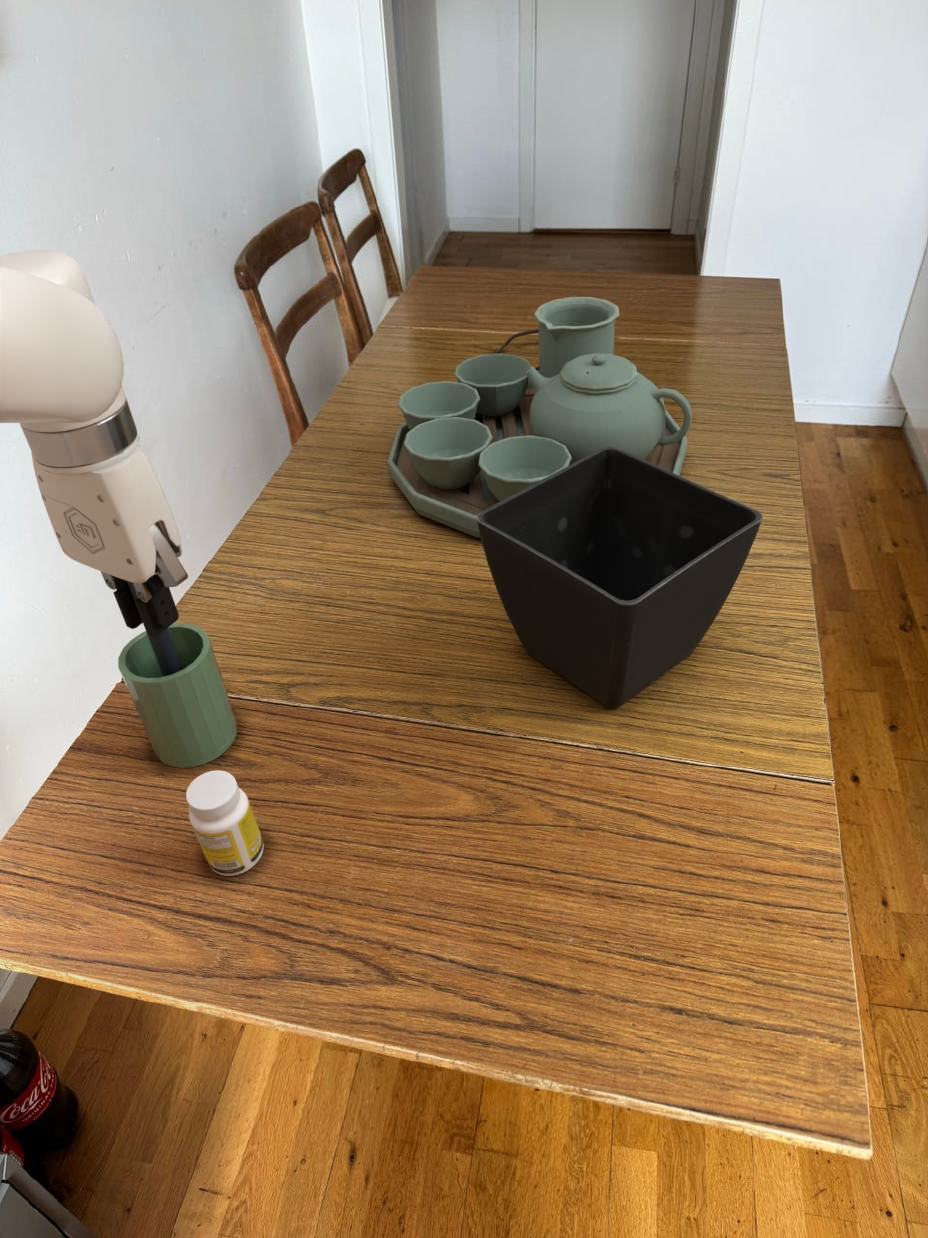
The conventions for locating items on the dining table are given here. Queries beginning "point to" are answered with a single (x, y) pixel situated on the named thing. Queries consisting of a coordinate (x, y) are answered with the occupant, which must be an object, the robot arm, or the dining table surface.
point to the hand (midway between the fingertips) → (153, 622)
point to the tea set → (530, 417)
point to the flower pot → (615, 568)
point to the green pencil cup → (180, 698)
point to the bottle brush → (162, 647)
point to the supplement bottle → (224, 823)
